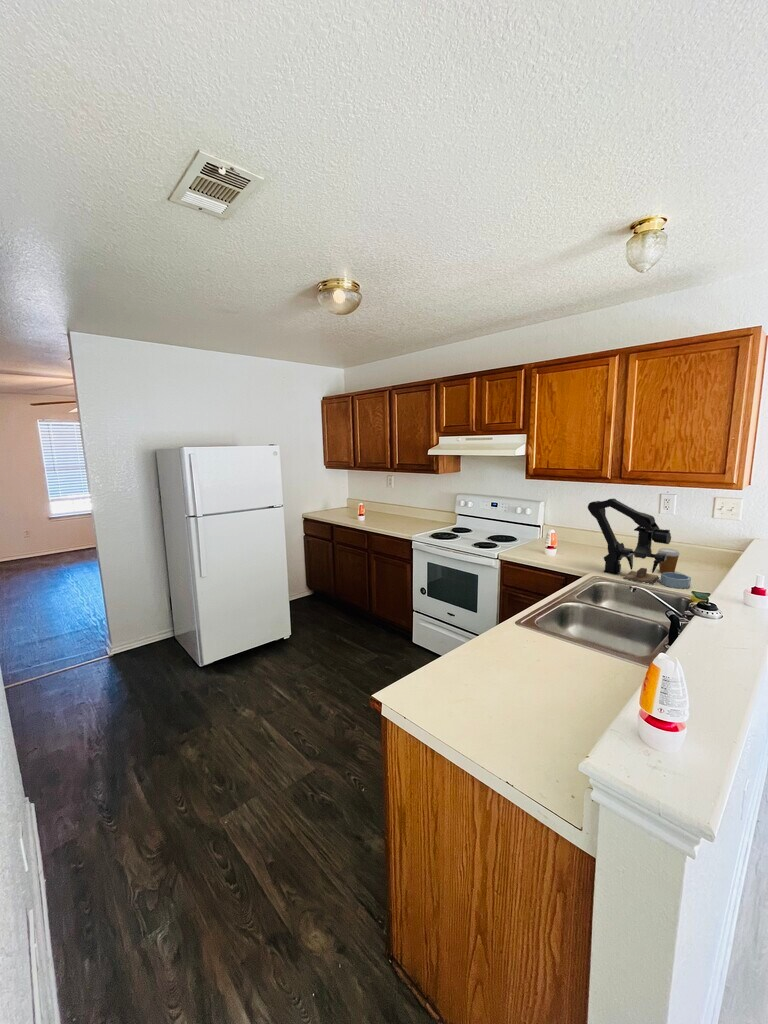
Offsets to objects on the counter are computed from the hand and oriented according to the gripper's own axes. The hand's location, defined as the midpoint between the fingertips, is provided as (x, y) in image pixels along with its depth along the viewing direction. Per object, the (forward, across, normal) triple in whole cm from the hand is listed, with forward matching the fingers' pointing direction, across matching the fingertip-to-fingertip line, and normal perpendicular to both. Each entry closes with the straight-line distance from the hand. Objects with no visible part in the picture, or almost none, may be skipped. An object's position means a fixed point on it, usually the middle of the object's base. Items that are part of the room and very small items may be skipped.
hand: (641, 571), depth 207 cm
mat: (+4, 0, 0) cm, 4 cm away
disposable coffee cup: (+4, +7, +20) cm, 22 cm away
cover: (+3, 0, 0) cm, 3 cm away
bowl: (+4, +14, 0) cm, 15 cm away
